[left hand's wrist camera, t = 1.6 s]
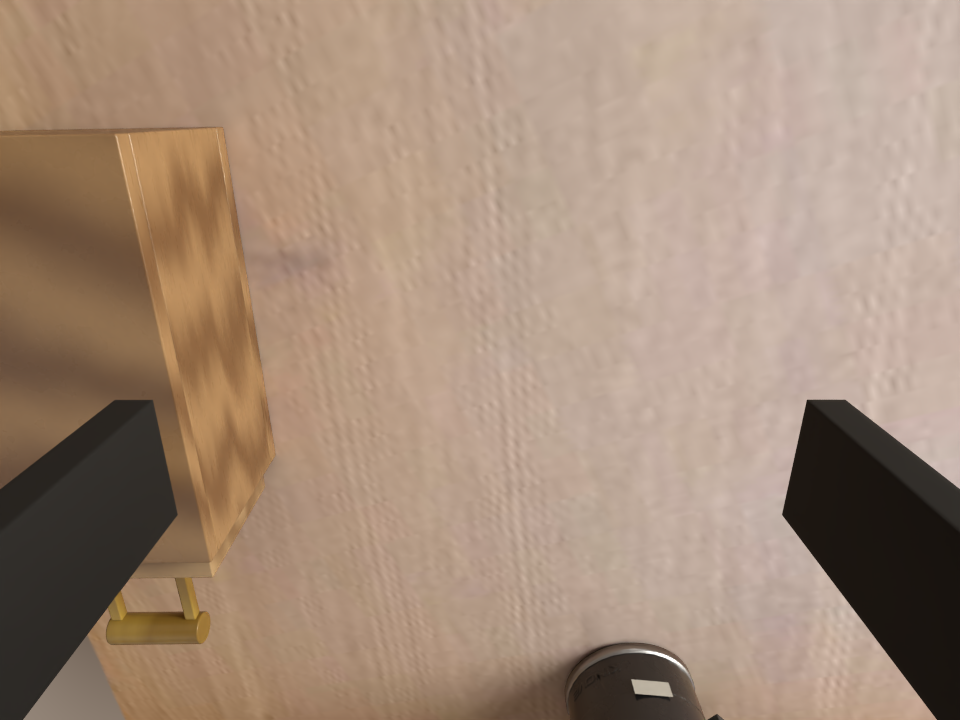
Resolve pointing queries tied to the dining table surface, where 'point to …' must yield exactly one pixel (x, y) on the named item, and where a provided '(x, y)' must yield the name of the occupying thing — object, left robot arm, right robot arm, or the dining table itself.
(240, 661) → the dining table surface
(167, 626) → the drawer
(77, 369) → the cabinet
